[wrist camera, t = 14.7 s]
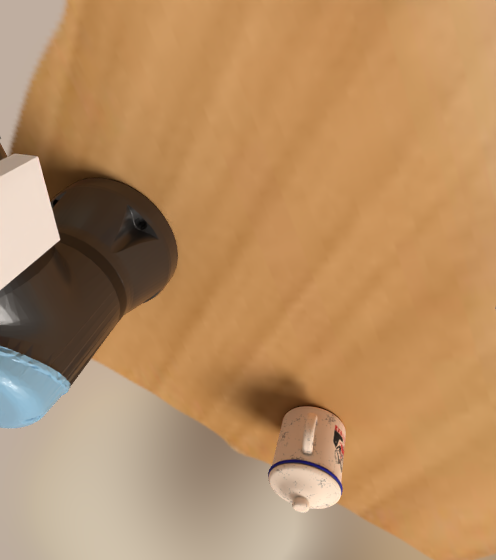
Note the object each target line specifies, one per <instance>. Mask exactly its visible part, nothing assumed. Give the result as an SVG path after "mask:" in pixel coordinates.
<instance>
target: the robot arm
mask: <svg viewBox="0 0 496 560" xmlns="http://www.w3.org/2000/svg"><path fill="white" fill-rule="evenodd" d="M177 259H178V253H177V245H176V241H175V238H174V235H173V232H172V230H171V228H170V226H169V224H168V222H167V221H166V219H165V218H164V216H163V215H162V214H161V212H160V211H159V210H158V209H157V208H156V206H155V205H154V204H153V203H152V202H150V201H149V200H148V199H147V198H146V197H145V196H143V195H142V194H141V193H139V192H138V191H136V190H134V189H133V188H131V187H129V186H127V185H125V184H123V183H120V182H117V181H114V180H110V179H105V178H88V179H83V180H80V181H77V182H75V183H73V184H72V185H70V186H69V187H67V188H66V189H64V190H63V191H61V192H60V193H59V194H57V195H56V197H55V198H54V199H53V200H52V201H51V202H50V200H49V196H48V192H47V188H46V185H45V181H44V177H43V173H42V170H41V166H40V162H39V158H38V156H31V155H23V154H15V153H14V154H12V155H10V156H8V157H7V155H6V153H5V151H4V149H3V148H2V146H1V144H0V428H20V427H25V426H28V425H31V424H33V423H34V422H37V421H38V420H40V419H41V418H42V417H43V416H44V415H45V414H46V413H47V412H48V411H49V409H50V408H51V407H52V406H53V405H54V404H55V403H56V401H57V400H58V399H59V398H60V397H61V396H62V395H64V394H66V393H67V392H68V390H69V388H70V386H71V385H72V384H73V382H74V381H75V379H76V378H77V377H78V375H79V374H80V373H81V371H82V370H83V369H84V367H85V366H86V365H87V363H88V362H89V361H90V359H91V358H92V357H93V355H94V354H95V353H96V351H97V350H98V349H99V347H100V346H101V344H102V343H103V342H104V340H105V339H106V338H107V336H108V335H109V334H110V332H111V331H112V330H113V328H114V327H115V326H116V324H117V323H118V322H119V320H120V319H121V318H122V317H123V315H125V314H126V313H128V312H130V311H131V310H133V309H134V308H136V307H137V306H139V305H141V304H142V303H145V302H147V301H149V300H151V299H153V298H154V297H156V296H157V295H158V294H159V293H160V292H161V291H162V290H163V289H164V288H165V286H166V285H167V283H168V282H169V281H170V279H171V278H172V276H173V274H174V272H175V269H176V266H177ZM495 309H496V308H495Z"/></svg>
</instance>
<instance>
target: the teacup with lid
mask: <svg viewBox="0 0 496 560" xmlns="http://www.w3.org/2000/svg"><path fill="white" fill-rule="evenodd" d="M345 436H346V431H345V427H344V425H343V423H342V422H341V421H340V419H339V418H338V417H336V416H335V415H334V414H332V413H330V412H329V411H326V410H324V409H321V408H317V407H311V406H303V407H297V408H294V409H292V410H290V411H289V412H287V413H286V415H285V416H284V418H283V422H282V426H281V430H280V434H279V439H278V443H277V447H276V451H275V456H274V460H273V464H272V466H271V468H270V469H269V472H268V477H269V482H270V485H271V487H272V489H273V490H274V491H275V493H276V494H277V495H279V496H280V497H281V498H283V499H284V500H286V501H288V502H290V503H292V506H293V508H294V509H295V510H296V511H298V512H302V513H305V512H307V511H308V510H309V508H313V509H317V508H319V509H320V508H326V507H329V506H332V505H334V504H335V503H336V502H337V501H338V500H339V499H340V496H341V495H342V484H341V478H342V468H343V457H344V446H345Z"/></svg>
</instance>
